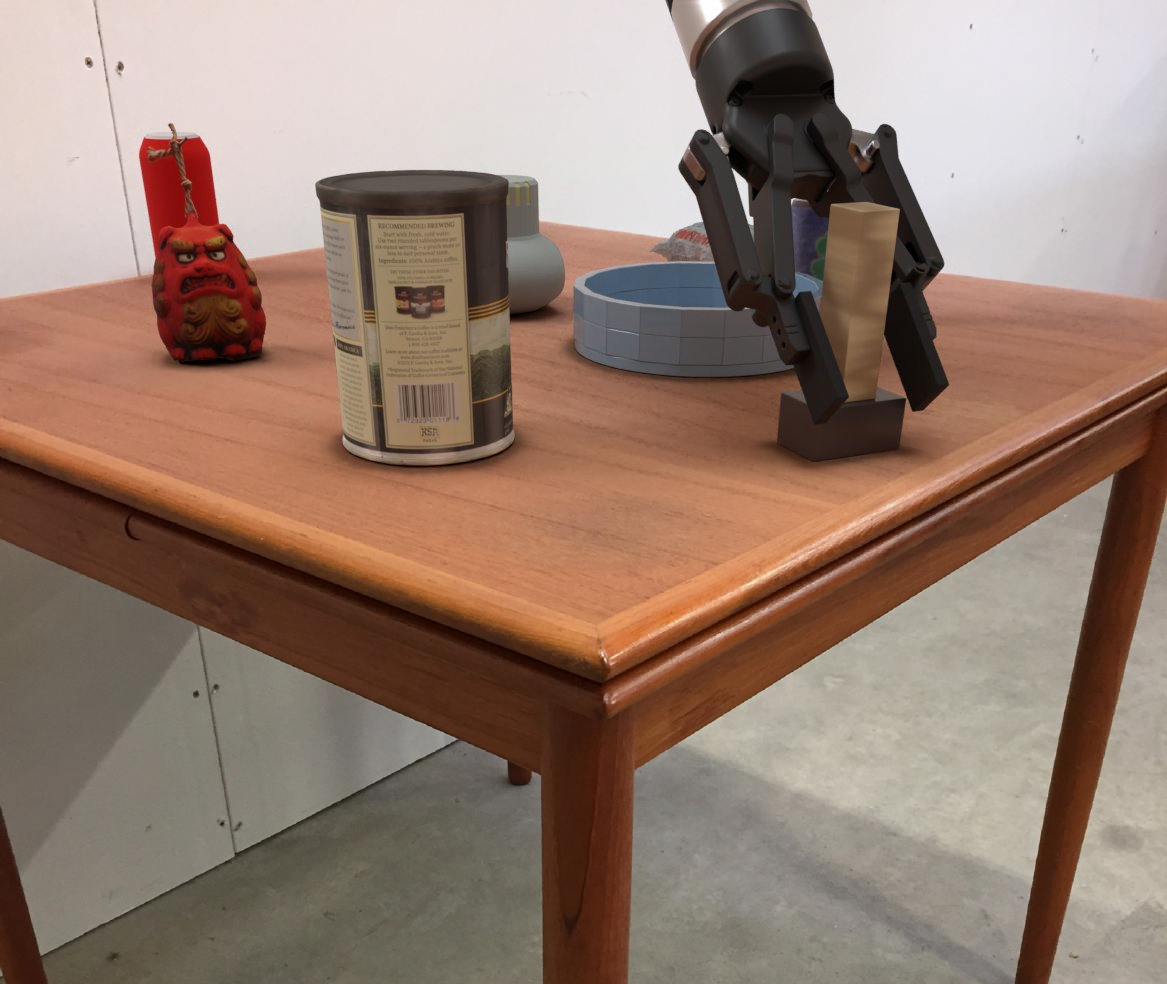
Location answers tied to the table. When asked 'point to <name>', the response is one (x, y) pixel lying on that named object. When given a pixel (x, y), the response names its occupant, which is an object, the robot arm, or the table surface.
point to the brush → (852, 340)
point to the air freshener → (530, 250)
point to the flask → (809, 239)
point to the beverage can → (177, 183)
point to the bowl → (672, 321)
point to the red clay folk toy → (204, 286)
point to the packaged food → (688, 245)
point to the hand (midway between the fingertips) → (881, 403)
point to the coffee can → (420, 313)
